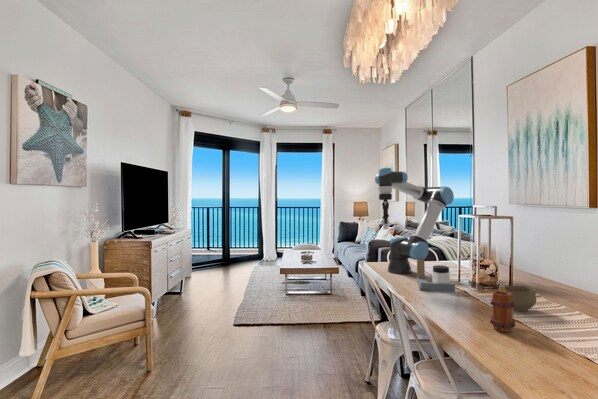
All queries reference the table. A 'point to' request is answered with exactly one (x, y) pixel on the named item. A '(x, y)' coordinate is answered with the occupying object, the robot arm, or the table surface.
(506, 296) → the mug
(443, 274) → the jar
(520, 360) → the table surface
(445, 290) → the pull strip
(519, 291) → the bowl
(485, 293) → the table surface
